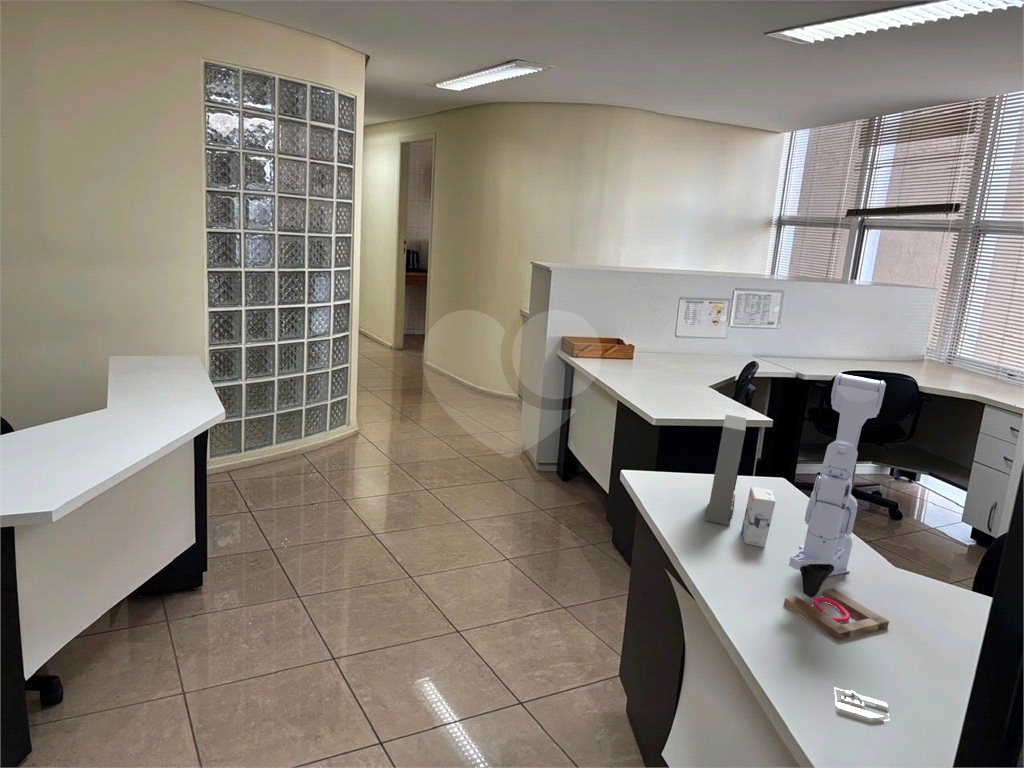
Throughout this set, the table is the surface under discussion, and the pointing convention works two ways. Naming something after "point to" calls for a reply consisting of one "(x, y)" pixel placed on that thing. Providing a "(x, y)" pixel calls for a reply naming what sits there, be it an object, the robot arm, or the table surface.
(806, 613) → the notched board
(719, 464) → the tall grey pillar
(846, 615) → the fitness band
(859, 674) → the table surface
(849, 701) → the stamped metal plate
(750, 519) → the ink box
